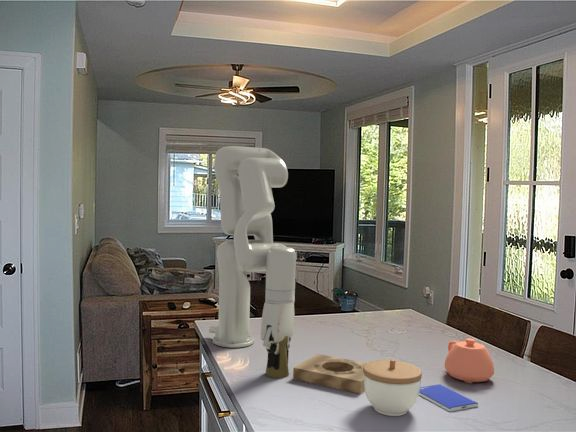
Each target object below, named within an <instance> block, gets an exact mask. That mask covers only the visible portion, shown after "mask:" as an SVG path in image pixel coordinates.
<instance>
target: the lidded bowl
mask: <svg viewBox="0 0 576 432" xmlns="http://www.w3.org/2000/svg"><path fill="white" fill-rule="evenodd" d="M365 363H366V364H365V365H364V367H363V373H364V390H365V391H364V394H365V396H366V399H367V401H368V402H369V404H370V405H371V406H372V407H373V408H374V410H375V412H377V413H379V414H381V415H384V416H387V417H400V416H404V415H406V414H407V413H408V411H409V410H411V409H412V408H413V407H414V406H415V405H416V403H417V401H418V398H419V396H420V395H419V393H420V387H422V378H423V376H422V375H423V372H422V370H421V368H420V367H418V366H416V365H414V364H412V363H409V362H405V361H399V360H396V359H394V358H392V359H391V358H390V359H388V360H387V359H382V360H381V359H379V360H372V361H368V362H365Z"/></svg>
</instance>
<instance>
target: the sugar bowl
mask: <svg viewBox="0 0 576 432" xmlns="http://www.w3.org/2000/svg"><path fill="white" fill-rule="evenodd" d="M447 349H448V351H447V355H446V358H445V361H444V369H445V371H446V372H447V373H448V374H449V376H450V377H452V378H455V379H457V380H460V381H464V383H466V384H473V383H480V382H486V381H488V380H489V379H491V378H492V377H493V376H494V373H495V364H494V361H493V359H492V357H491V355H490V352H489V350H488V349H487V348H486V346H485V345H484V344H482V343H478V342H476V339H474V338H465V340H464V341H458V340H451V341H449V342H448V345H447Z"/></svg>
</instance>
